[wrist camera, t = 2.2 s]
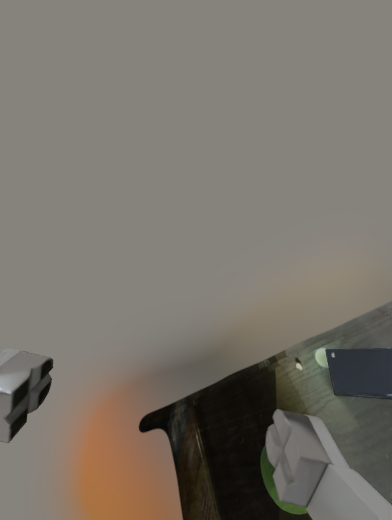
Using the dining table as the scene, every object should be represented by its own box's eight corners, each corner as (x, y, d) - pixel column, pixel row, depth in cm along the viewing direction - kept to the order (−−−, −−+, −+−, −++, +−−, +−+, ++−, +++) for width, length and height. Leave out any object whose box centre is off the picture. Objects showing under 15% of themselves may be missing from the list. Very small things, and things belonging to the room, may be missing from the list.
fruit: (258, 456, 38) (234, 469, 29) (290, 421, 38) (275, 423, 29) (299, 516, 32) (284, 554, 24) (335, 474, 33) (334, 497, 24)
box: (334, 396, 37) (333, 392, 29) (327, 359, 40) (324, 347, 32) (394, 400, 33) (410, 397, 26) (381, 360, 36) (392, 346, 29)
